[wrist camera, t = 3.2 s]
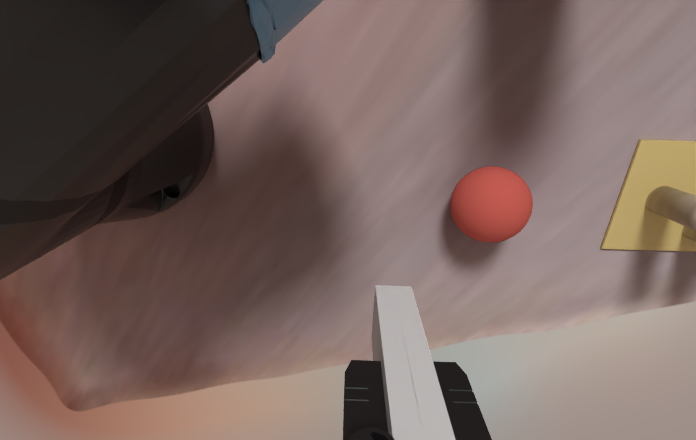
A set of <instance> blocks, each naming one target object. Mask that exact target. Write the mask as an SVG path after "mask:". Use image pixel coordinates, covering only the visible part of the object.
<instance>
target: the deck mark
mask: <svg viewBox="0 0 696 440" xmlns="http://www.w3.org/2000/svg"><path fill="white" fill-rule="evenodd" d="M661 186H669V187H672V188H675V189H678V190H681V191H683V192H686V193H689V194H692V195H695V196H696V141H670V140H639V142H638V144H637V147H636V150H635V153H634V156H633V158H632V161H631V164H630V167H629V170H628V172H627V175H626V178H625V181H624V184H623V186H622V189H621V192H620V195H619V198H618V200H617V203H616V206H615V209H614V212H613V214H612V217H611V220H610V223H609V226H608V228H607V231H606V234H605V237H604V239H603V242H602V245H601V248H602V249H626V250H659V251H693V252H696V242H695V241H693V240H690V239H688V238H686V237H685V236H684V235H683V227H684V226H683V225H681V224H679V223H676V222H674V221H672V220H670V219H667V218H665V217H663V216H661V215H658V214H656V213H654V212H652V211H650V210H648V209H647V207H646V199H647V197H648V195H649V194H650V193H651V192H652V191H653V190H654V189H656V188H658V187H661Z"/></svg>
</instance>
